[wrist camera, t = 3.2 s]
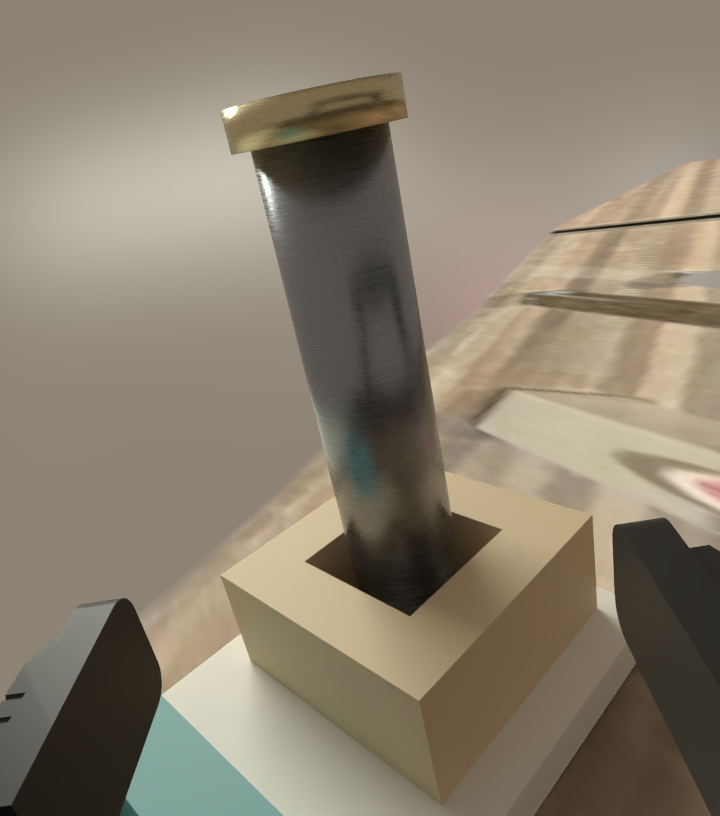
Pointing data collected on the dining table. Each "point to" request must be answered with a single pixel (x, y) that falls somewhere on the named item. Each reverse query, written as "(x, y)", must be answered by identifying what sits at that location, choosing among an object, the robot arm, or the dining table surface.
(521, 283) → the dining table surface
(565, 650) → the dock
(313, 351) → the pin
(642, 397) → the dining table surface
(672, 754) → the dining table surface
